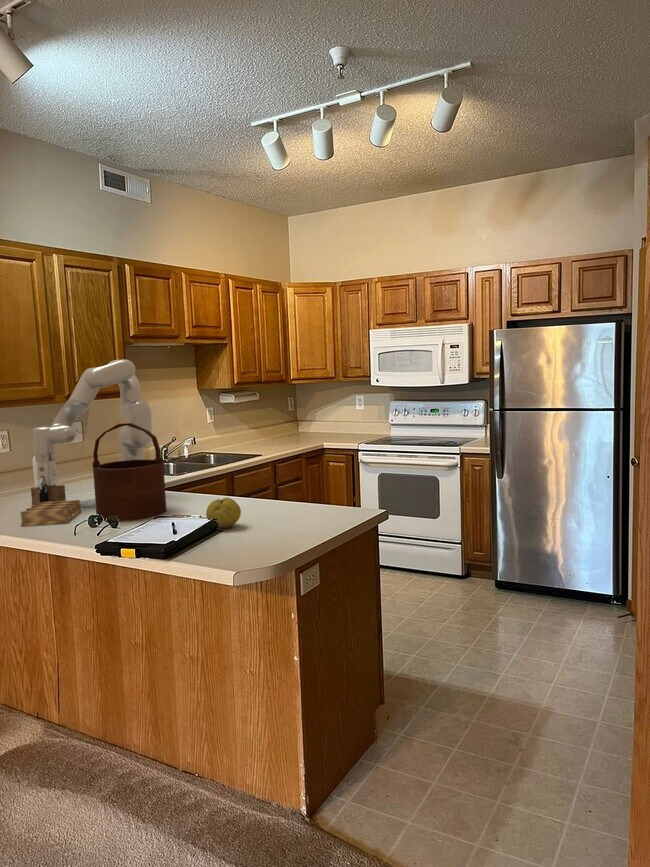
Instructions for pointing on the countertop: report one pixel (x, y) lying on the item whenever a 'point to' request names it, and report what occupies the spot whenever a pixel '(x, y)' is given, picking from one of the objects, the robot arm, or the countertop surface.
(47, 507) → the rack
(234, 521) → the fruit
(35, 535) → the countertop surface
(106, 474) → the wooden bucket
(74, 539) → the countertop surface
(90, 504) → the pale blue rounded part
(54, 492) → the board
